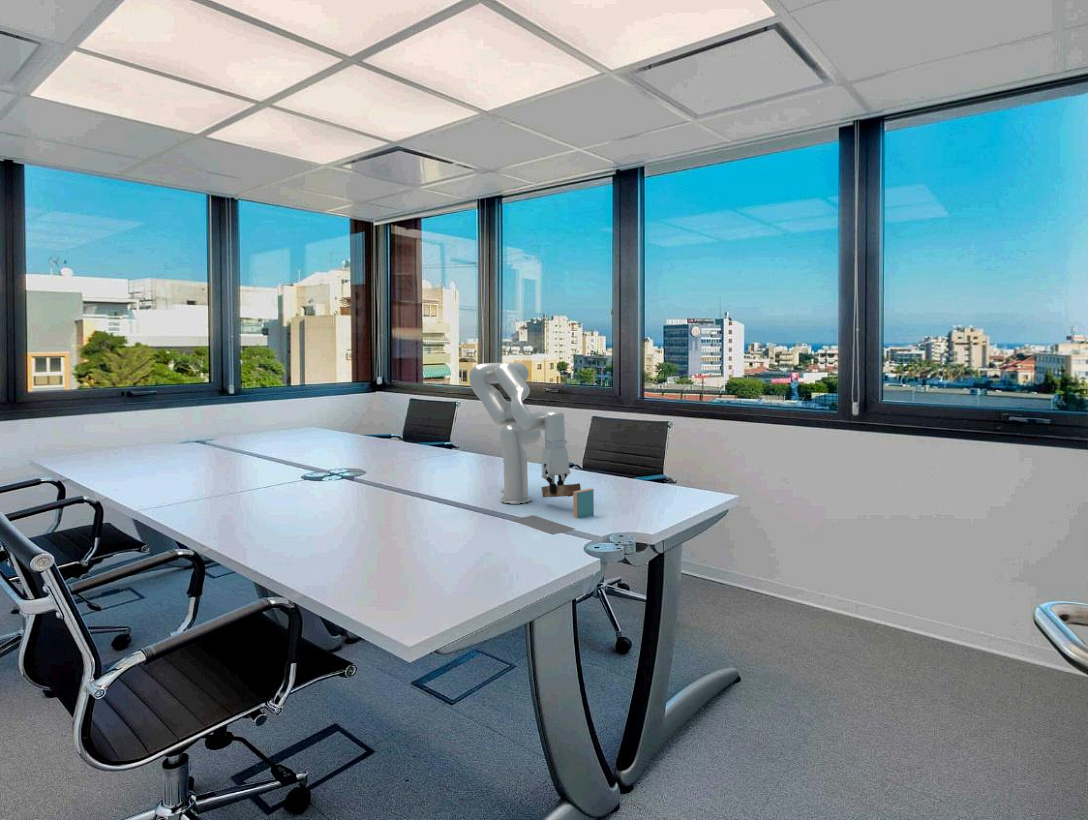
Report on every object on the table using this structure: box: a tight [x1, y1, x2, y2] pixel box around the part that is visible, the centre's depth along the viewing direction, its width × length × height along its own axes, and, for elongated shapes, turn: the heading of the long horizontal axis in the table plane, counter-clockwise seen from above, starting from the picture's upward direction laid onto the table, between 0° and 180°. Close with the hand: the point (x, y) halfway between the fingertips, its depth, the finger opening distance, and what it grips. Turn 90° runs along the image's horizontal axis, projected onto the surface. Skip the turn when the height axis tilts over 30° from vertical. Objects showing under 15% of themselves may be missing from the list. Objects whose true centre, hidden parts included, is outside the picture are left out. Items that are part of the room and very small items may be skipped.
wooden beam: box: [540, 483, 582, 498], centre depth 244 cm, size 18×6×4 cm, turn 37°
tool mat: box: [511, 514, 576, 535], centre depth 224 cm, size 24×10×1 cm, turn 38°
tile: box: [572, 488, 595, 519], centre depth 233 cm, size 2×8×10 cm, turn 128°
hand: (556, 492), depth 246 cm, fingers closed on wooden beam, 3 cm apart
